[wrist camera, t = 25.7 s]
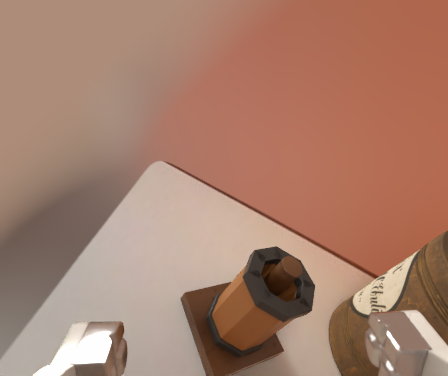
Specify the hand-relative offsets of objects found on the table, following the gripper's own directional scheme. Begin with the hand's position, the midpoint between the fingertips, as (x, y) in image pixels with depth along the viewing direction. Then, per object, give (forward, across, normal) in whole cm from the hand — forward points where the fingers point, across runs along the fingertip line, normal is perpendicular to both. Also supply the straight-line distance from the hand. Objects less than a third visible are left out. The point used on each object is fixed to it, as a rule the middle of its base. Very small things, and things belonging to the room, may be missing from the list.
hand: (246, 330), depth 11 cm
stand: (+20, 0, +20) cm, 28 cm away
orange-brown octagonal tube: (+20, -1, +19) cm, 27 cm away
